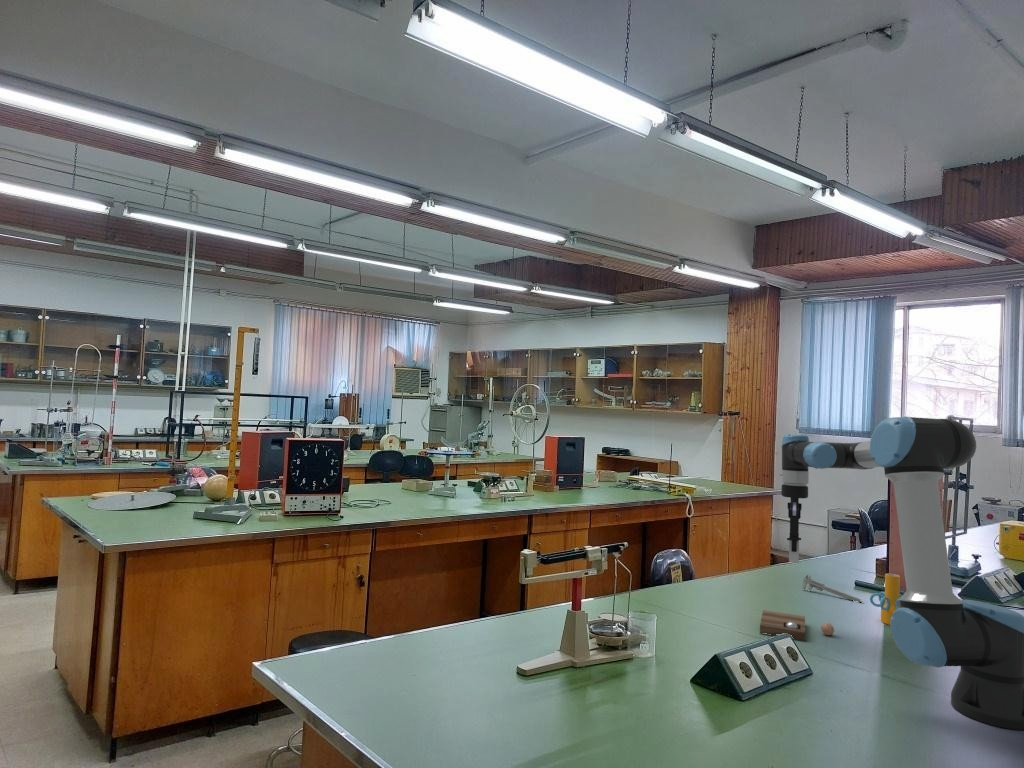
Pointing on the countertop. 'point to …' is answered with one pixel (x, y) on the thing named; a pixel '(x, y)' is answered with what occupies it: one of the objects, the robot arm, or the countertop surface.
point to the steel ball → (791, 625)
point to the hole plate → (782, 624)
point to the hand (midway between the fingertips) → (793, 561)
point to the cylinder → (889, 597)
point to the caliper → (826, 588)
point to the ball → (827, 629)
